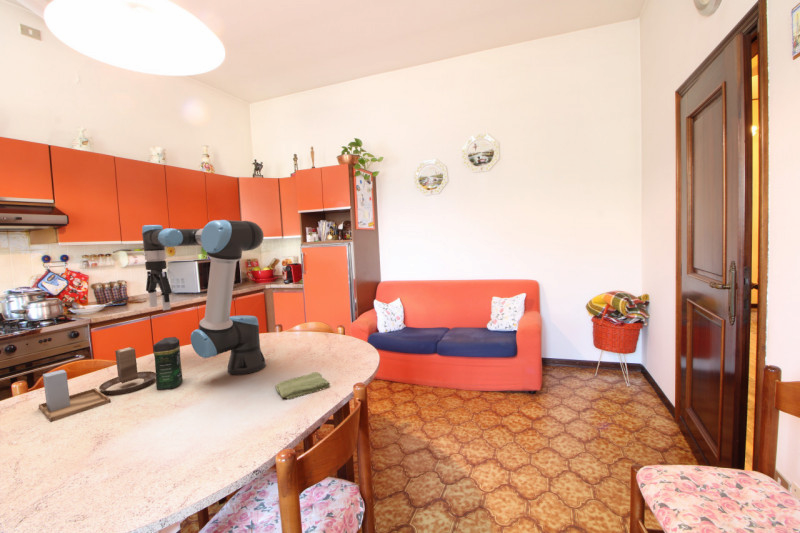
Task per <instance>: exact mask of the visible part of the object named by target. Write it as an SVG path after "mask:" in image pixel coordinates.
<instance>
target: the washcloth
mask: <svg viewBox="0 0 800 533" xmlns="http://www.w3.org/2000/svg"><path fill="white" fill-rule="evenodd" d="M328 387H330V382H329V381H328V380H327V379H325V378H324V377H323V376H322V374H321V373H319V372H317V371H315V372H312V373H308V374H306V375H300V376H297V377H294V378H289V379H287V380H283V381H281V382H278V383H277V384H276V385H275V388H276V391H277V392H278V393H279V395H280V397H281V399H282V398H285V399H286V400H287V399H289V400H292V399H295V398H294V397H296V398H298V396H299V397H302V396H305V395H304V394H306V395H308V394H307V393H309V394H311V393H310V392H312V393H315V392H314V391H316V392H318V391H321V390H320V389H322V390H324V389H323V388H326V389H327V388H328ZM317 390H318V391H317ZM301 395H302V396H301ZM286 397H287V398H286ZM291 398H292V399H291Z"/></svg>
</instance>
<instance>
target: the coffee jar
mask: <svg viewBox="0 0 800 533" xmlns="http://www.w3.org/2000/svg"><path fill="white" fill-rule="evenodd" d="M152 347H153V356H154V364H155V366H154V367H155V373H156V377H155V385H156V386H155V387H156V389H157V390H164V391H165V390H170V389H174V388H176V387H178V386H180V384H181V383H182V382H183V370H182V360H181V344H180V339H179V338H177V337H176V336H170V337H163V338H162V339H160V340H159V341H157V342H156V343H154V344H153V346H152Z"/></svg>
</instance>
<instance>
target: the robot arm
mask: <svg viewBox="0 0 800 533" xmlns="http://www.w3.org/2000/svg"><path fill="white" fill-rule="evenodd" d="M141 230H142V232H141V235H142V244H143V252H144V253H143V254H142V255H143V256H144V260H145V262H144V265H145V270H146V271H147V272H146V274H147V276H146V287H145V291H146V292H148V300H149V307H150V308H157V307H158V296H157V292H158V291H157V285H158V287H159V289H160V292H161V293H160V296H161V304H162V305H161V306H162V311H167V310H172V308H171V298H170V295H171V294H172V287H171V285H170V281H169V278H168V272H167V271H163V270H166V269H167V260H166V258H167V256H166V248H165V247H167V248H171V247H172V248H174V247H189V246H193V247H195V246H199V247H200V246H201V247H202V249H203V251H205V252H206V255H207V256H208V258H209V259H210V266H209V274H208V284H207V290H206V291H207V292H206V293H207V294H206V300H205V301H206V302H205V311H204V317H203V318H202V319H201V320H200V321H199V326H198V328H197V329H195V330H193V331H192V332H191V334H190V343H191V347H192V349H193V350H194V352H195V353H196V354H197V355H198V356H199V357H201V358H203V359H207V358H212V357H216V356H218V355H221V354H224V353H226V352H229V351H230V355H229V360H228V363H227V366H226V367H227V369H226V370H227V372H228V374H230V375H235V376H236V375H237V376H239V375H240V376H241V375H248V374H251V373H255V372H258V371H260V370H263V369H264V368H265V367H266V359H265V357H264V354H263V352H262V349H261V343H260V342H261V341H260V325H259V319H258V317H257V316H255V315H233V316H232V315H231V308H232V302H233V292H234V284H235V277H236V276H235V275H236V270H237V269H236V268H237V263H238V262H239V261H240V260H241V259H242V256H243V252H247V251H253V250H255V249H257V248H259V247H260V246H261V245H262V243H263V241H264V236H265V235H264V230H263V229H262V227H261V226H259V225H258V224H257V223H256V222H253V221H252V220H251V221H250V220H234V219H232V220H231V219H230V220H228V219H219V220H217V219H214V220H211V221H209V222H208V223H207V224H206V225H205V226H204V227H203V228H172V227H171V228H169V227H168V228H164V227H163V226H162V225H161V224H148V225H147V224H144V225H142V227H141ZM230 315H231V316H230Z"/></svg>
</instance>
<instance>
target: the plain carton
mask: <svg viewBox="0 0 800 533" xmlns="http://www.w3.org/2000/svg"><path fill="white" fill-rule="evenodd" d="M42 378H43V379H42V380H43V387H44V395H45V403H46V404H47V409H48V410H49V411H50V412H51V411H54V410H58V409H61V408H64V407H67V406H70V398H69V396H70V391H69V390H70V389H69V383H68V374H67V371H65V369H61V370H60V369H59V370H55V371H51V372H47V373H42Z"/></svg>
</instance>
